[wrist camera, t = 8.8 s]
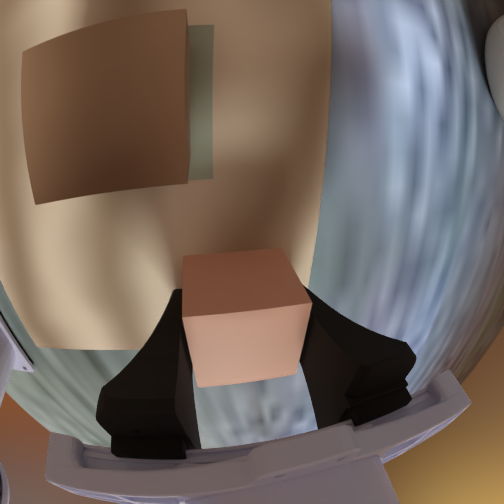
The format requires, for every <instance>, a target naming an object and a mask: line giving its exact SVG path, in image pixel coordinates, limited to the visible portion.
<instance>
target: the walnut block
mask: <svg viewBox="0 0 504 504" xmlns="http://www.w3.org/2000/svg"><path fill="white" fill-rule="evenodd" d="M189 51H190V40H189V30H188V20H187V9H177V10H167V11H159V12H151V13H145V14H139V15H133V16H128V17H123V18H118V19H114V20H110V21H106V22H102V23H98V24H94V25H91V26H87V27H84V28H81V29H78V30H75V31H72V32H69V33H66V34H63V35H60V36H58V37H55V38H53V39H50V40H48V41H45V42H43V43H40V44H38V45H36V46H34V47H32V48H29V49H27V50H25V51H23V53H22V67H21V112H22V127H23V138H24V146H25V154H26V161H27V167H28V173H29V178H30V183H31V188H32V193H33V198H34V202H35V205H39V204H44V203H49V202H54V201H60V200H65V199H71V198H77V197H82V196H89V195H95V194H102V193H109V192H116V191H123V190H131V189H139V188H148V187H157V186H167V185H178V184H188V175H189V166H190V157H191V152H190V120H189Z"/></svg>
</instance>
